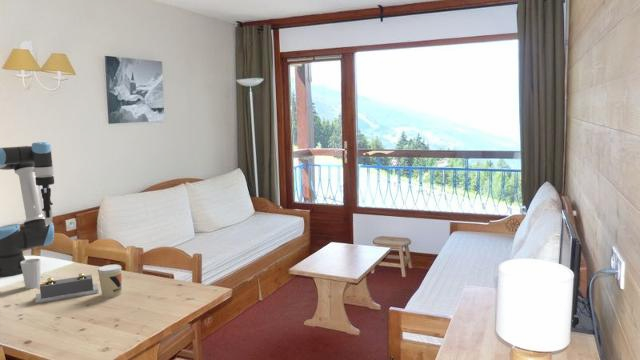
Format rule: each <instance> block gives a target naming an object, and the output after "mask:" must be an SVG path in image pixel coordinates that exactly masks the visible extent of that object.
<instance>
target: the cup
mask: <svg viewBox="0 0 640 360" xmlns="http://www.w3.org/2000/svg"><path fill="white" fill-rule="evenodd" d="M20 263H21V268H22V272H23V273H22V276H23V280H24V286H25V287H24V288H25V289H27V290H33V289H37V288H40V283H41V282H42V277H41V276H42V274H41V271H42V270H41V268H42V267H41V265H42V264H41V258H29V259H25V260H24V261H22V262H20Z"/></svg>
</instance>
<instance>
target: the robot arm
mask: <svg viewBox="0 0 640 360" xmlns="http://www.w3.org/2000/svg"><path fill="white" fill-rule="evenodd" d="M0 170H2V171H3V170H5V171H6V170H7V171H8V170H13V171H14V174H16V175H17V176H18V179H19V184H20V190H21V196H22V201H23V206H24V207H23V208H24V214H25V218H26V219H25V221H23V225H22V226H21V225H20V224H19V223H15V224H14V223H12V224H8V225H3V226H1V227H0V277H9V276H15V275H19V274H23V272H22V268H21V263H20V262H22V261H24V260H26V258H25V256H24V252H23V250H26V249H27V250H28V249H33V248H38V247H45V246H49V245H52V244H53V243H54V238H55V226H54V225H55V224H54V222H53V208H52V205H54V204H53V202H52V200H51V195H52V194H51V193H52V189H51V187H50V185H54V184H55V176H54V175H55V173H54V166H53V156H52V147H51V143H50V142H48V141H37V142H32V143H31V145H23V146H22V145H21V146H9V147H8V146H7V147H0ZM40 186H41V187H42V188H41V187H40Z"/></svg>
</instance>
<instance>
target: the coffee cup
mask: <svg viewBox="0 0 640 360" xmlns="http://www.w3.org/2000/svg"><path fill="white" fill-rule="evenodd" d="M122 268H123V267H122V266H121V265H120V264H106V265H102V266H101V267H98V270H97V273H98V280H99V285H100V290H101V296H102V297H103V298H114V297H118V296H120V295H122V292H123V291H122Z"/></svg>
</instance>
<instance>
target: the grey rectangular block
mask: <svg viewBox="0 0 640 360" xmlns="http://www.w3.org/2000/svg"><path fill="white" fill-rule="evenodd" d="M93 285H94V282H93V276H92V274H87V275H84V279H81V280H80V278H79V276H75V277H68V278H63V279H55V280H53V284H50V285H49V283H48V281H41V283H40V287H39V290H40V293H41V298H46V297H52V296H58V295H64V294H70V293H76V292H82V291H88V290H93ZM40 293H39V294H40Z"/></svg>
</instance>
